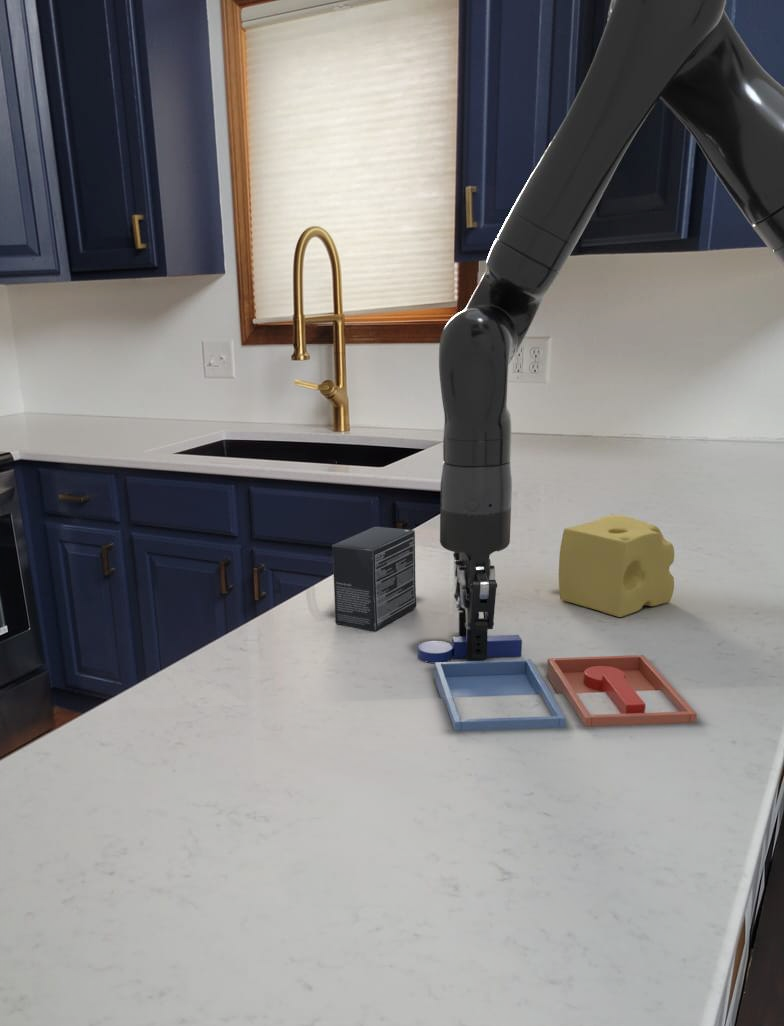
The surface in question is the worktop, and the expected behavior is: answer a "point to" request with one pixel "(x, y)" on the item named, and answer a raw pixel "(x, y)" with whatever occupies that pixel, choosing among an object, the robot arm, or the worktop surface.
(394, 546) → the small box
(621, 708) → the red spoon
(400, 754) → the worktop surface
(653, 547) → the cheese
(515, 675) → the blue tray
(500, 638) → the blue spoon
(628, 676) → the red tray
